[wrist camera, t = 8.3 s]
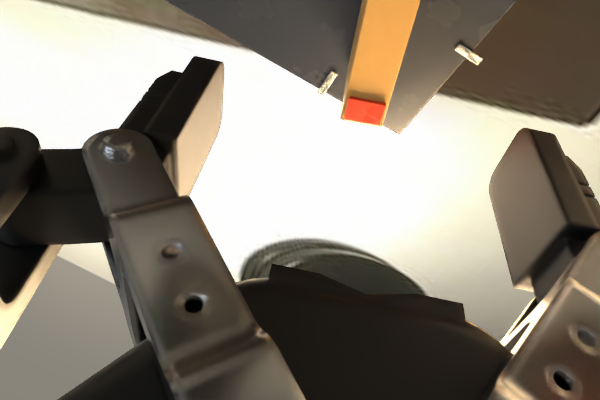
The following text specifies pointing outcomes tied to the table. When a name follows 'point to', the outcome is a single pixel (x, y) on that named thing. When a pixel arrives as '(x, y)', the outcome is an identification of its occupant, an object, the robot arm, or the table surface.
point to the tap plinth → (339, 39)
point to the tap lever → (376, 58)
